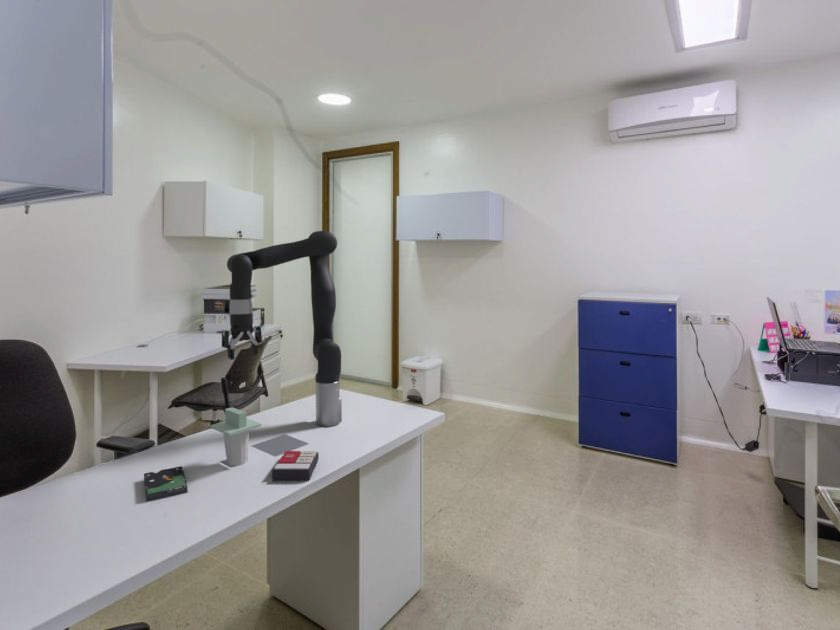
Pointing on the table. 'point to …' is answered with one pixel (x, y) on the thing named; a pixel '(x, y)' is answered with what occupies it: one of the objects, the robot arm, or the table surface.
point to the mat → (280, 445)
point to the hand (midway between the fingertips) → (242, 357)
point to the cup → (236, 448)
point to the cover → (235, 422)
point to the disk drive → (165, 483)
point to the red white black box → (295, 466)
